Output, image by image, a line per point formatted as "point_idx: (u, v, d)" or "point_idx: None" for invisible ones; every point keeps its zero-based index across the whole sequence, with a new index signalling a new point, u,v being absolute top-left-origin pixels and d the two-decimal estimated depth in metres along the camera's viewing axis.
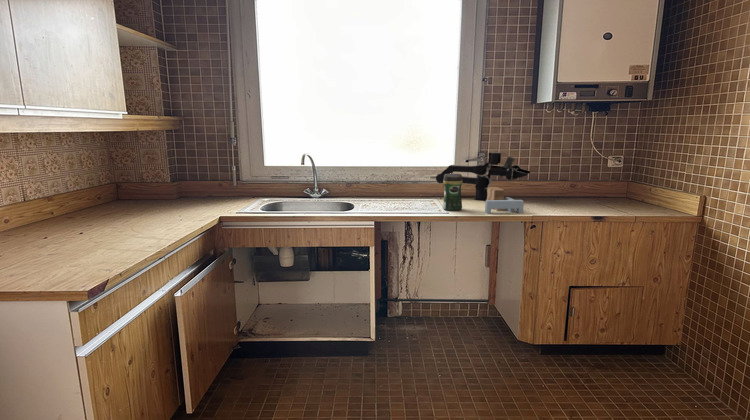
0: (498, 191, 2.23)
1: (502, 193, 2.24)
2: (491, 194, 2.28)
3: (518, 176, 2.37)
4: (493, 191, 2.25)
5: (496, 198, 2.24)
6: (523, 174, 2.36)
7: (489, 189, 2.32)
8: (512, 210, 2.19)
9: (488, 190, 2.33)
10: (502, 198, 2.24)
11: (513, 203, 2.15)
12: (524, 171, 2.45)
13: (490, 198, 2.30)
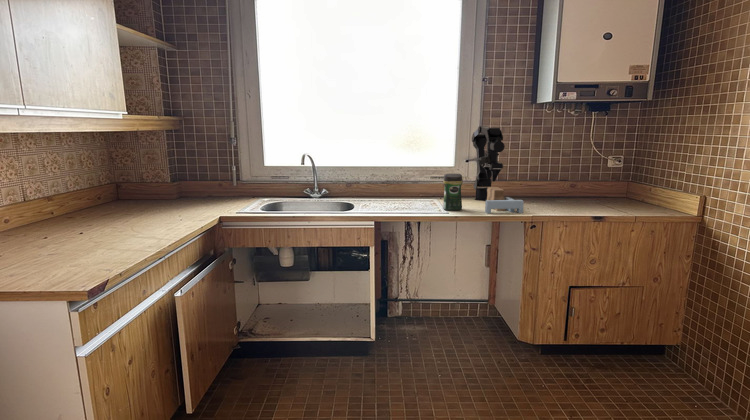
0: (498, 191, 2.23)
1: (502, 193, 2.24)
2: (491, 194, 2.28)
3: None
4: (493, 191, 2.25)
5: (496, 198, 2.24)
6: None
7: (489, 189, 2.32)
8: (512, 210, 2.19)
9: (488, 190, 2.33)
10: (502, 198, 2.24)
11: (513, 203, 2.15)
12: None
13: (490, 198, 2.30)
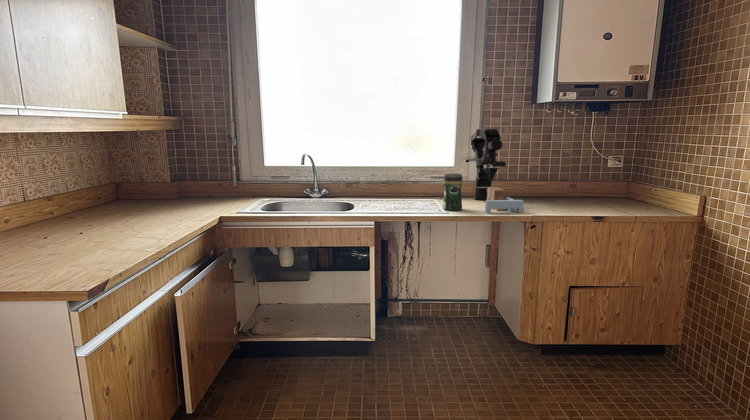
0: (498, 191, 2.23)
1: (502, 193, 2.24)
2: (491, 194, 2.28)
3: None
4: (493, 191, 2.25)
5: (496, 198, 2.24)
6: None
7: (489, 189, 2.32)
8: (512, 210, 2.19)
9: (488, 190, 2.33)
10: (502, 198, 2.24)
11: (513, 203, 2.15)
12: None
13: (490, 198, 2.30)
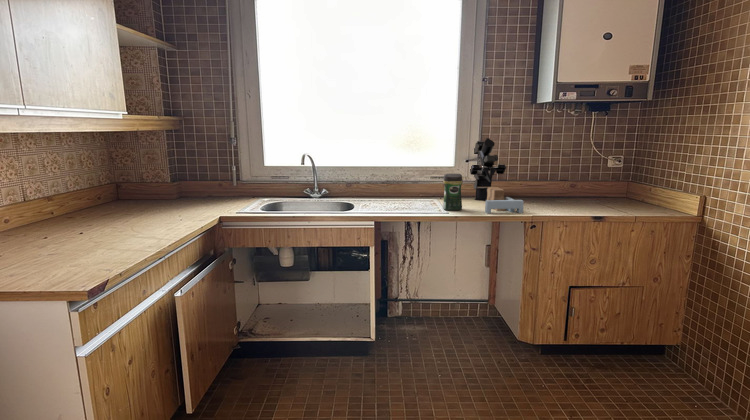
0: (498, 191, 2.23)
1: (502, 193, 2.24)
2: (491, 194, 2.28)
3: (486, 176, 2.41)
4: (493, 191, 2.25)
5: (496, 198, 2.24)
6: (488, 179, 2.38)
7: (489, 189, 2.32)
8: (512, 210, 2.19)
9: (488, 190, 2.33)
10: (502, 198, 2.24)
11: (513, 203, 2.15)
12: None
13: (490, 198, 2.30)
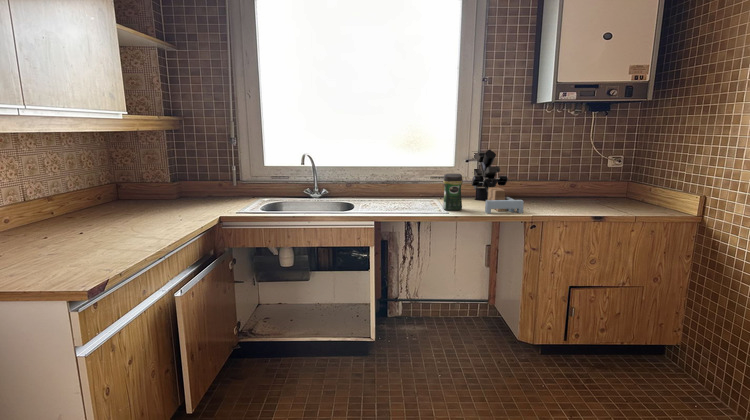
0: (499, 191, 2.22)
1: (503, 193, 2.22)
2: (492, 194, 2.27)
3: (487, 188, 2.38)
4: (494, 191, 2.24)
5: (497, 198, 2.23)
6: None
7: (490, 189, 2.30)
8: (512, 210, 2.19)
9: (489, 190, 2.32)
10: (503, 198, 2.23)
11: (513, 203, 2.15)
12: None
13: (491, 198, 2.29)
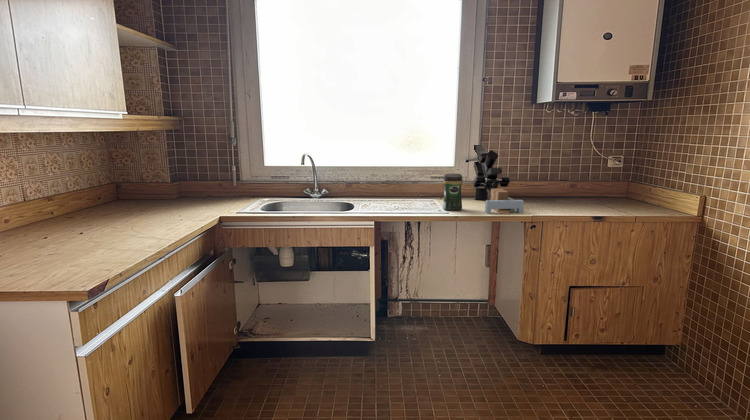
0: (502, 193, 2.18)
1: (506, 195, 2.18)
2: (495, 195, 2.22)
3: (489, 189, 2.35)
4: (497, 193, 2.19)
5: None
6: None
7: (493, 191, 2.26)
8: (512, 210, 2.19)
9: (491, 192, 2.27)
10: None
11: (513, 203, 2.15)
12: None
13: None
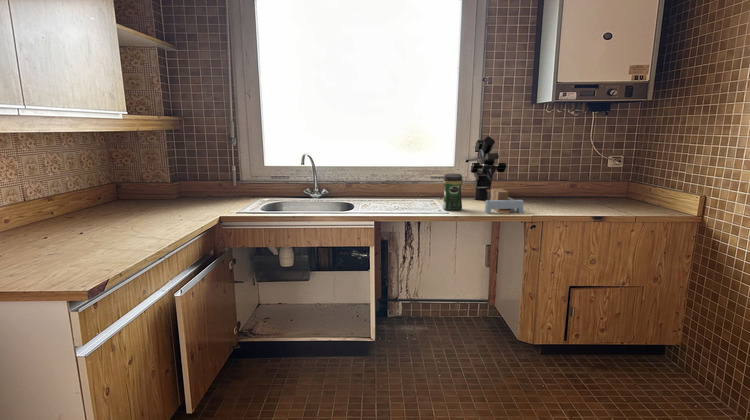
0: (502, 193, 2.18)
1: (506, 195, 2.18)
2: (495, 195, 2.22)
3: (486, 175, 2.40)
4: (497, 193, 2.19)
5: None
6: (489, 177, 2.37)
7: (493, 191, 2.26)
8: (512, 210, 2.19)
9: (491, 192, 2.27)
10: None
11: (513, 203, 2.15)
12: None
13: None
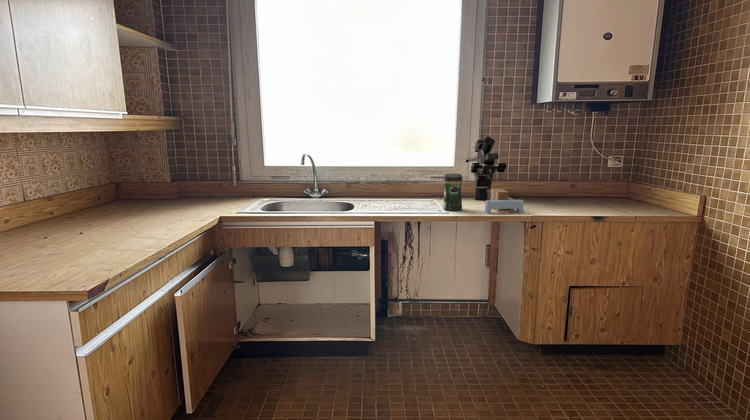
0: (502, 193, 2.18)
1: (506, 195, 2.18)
2: (495, 195, 2.22)
3: (486, 175, 2.40)
4: (497, 193, 2.19)
5: None
6: (489, 177, 2.37)
7: (493, 191, 2.26)
8: (512, 210, 2.19)
9: (491, 192, 2.27)
10: None
11: (513, 203, 2.15)
12: (490, 175, 2.38)
13: None
